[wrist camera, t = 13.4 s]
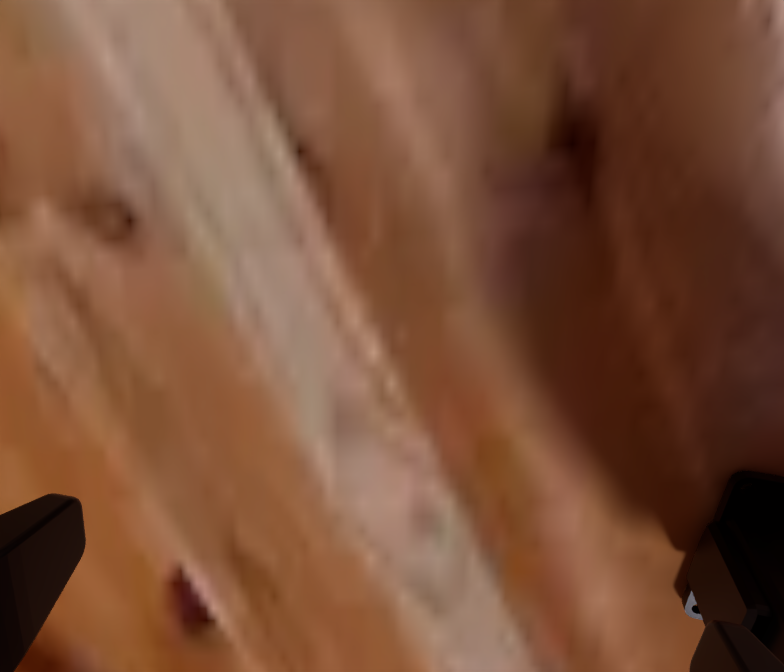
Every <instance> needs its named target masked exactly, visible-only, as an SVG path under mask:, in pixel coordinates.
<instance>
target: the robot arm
mask: <svg viewBox="0 0 784 672" xmlns="http://www.w3.org/2000/svg"><path fill="white" fill-rule="evenodd" d="M745 484H752V485H751V486H750V487H748V488H746V489H741V487H742V486H743V485H745ZM85 543H86V538H85V529H84V520H83V512H82V505H81V502H80V501H79V499H77V498H76V497H72V496H67V495H61V494H56V493H52V494H48V495H45V496H42V497H40V498H38V499H36V500H33V501H31V502H29V503H26V504H24V505H22V506H20V507H17V508H15V509H13V510H10V511H8V512H6V513H4V514H1V515H0V672H14V671H15V669H16V668H17V666H18V665H19V663H20V662H21V660H22V659H23V657H24V656H25V654H26V653H27V651H28V650H29V648H30V646H31V645H32V643H33V641H34V640H35V638H36V636H37V635H38V633H39V631H40V629H41V628H42V626H43V624H44V622H45V621H46V619H47V617H48V615H49V614H50V612H51V610H52V608H53V607H54V605H55V603H56V601H57V600H58V598H59V596H60V594H61V593H62V591H63V589H64V587H65V586H66V584H67V582H68V580H69V579H70V577H71V575H72V573H73V572H74V570H75V568H76V566H77V565H78V563H79V561H80V559H81V557H82V555H83V552H84V549H85ZM687 580H688V585H687V587H686V590H685V592H684V595H683V597H682V604H683V607H684V609H685V612H686V614H687V615H688V616H690V617H692V618H695V619H700V620H703V621H704V624H705V629H704V632H703V634H702V636H701V639H700V641H699V643H698V646H697V648H696V650H695V653H694V655H693V657H692V660H691V664H690V672H784V477H782V476H777V475H771V474H765V473H759V472H753V471H740V472H737V473H735V474H734V475H732V477H731V478H730V480H729V482H728V484H727V487H726V489H725V492H724V494H723V497H722V499H721V502H720V504H719V507H718V509H717V512H716V514H715V517H714V519H713V521H711V522H710V523H709V524H708V525H707V526H706V527H705V530H704V532H703V535H702V537H701V540H700V543H699V545H698V548H697V550H696V553H695V555H694V558H693V560H692V563H691V565H690V568H689V570H688V573H687ZM695 604H697V606H693V605H695Z"/></svg>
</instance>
